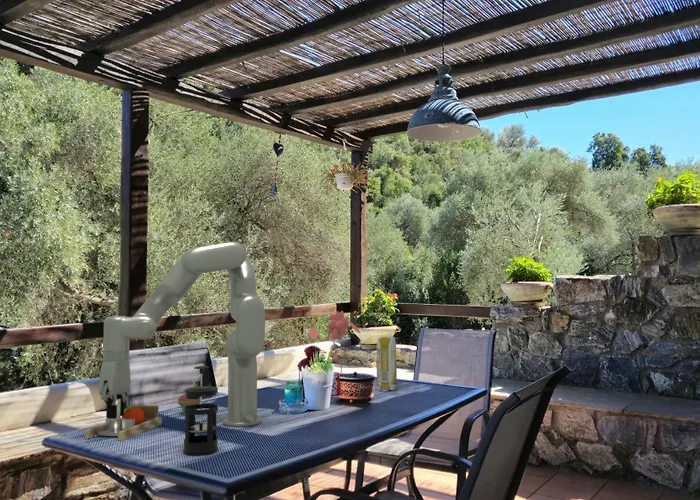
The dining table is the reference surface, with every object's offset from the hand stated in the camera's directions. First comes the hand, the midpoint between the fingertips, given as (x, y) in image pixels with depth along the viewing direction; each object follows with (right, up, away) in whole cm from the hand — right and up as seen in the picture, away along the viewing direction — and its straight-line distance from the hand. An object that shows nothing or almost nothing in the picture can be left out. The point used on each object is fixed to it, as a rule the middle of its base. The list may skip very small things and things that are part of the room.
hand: (115, 416), depth 182 cm
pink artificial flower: (+67, -10, +70) cm, 97 cm away
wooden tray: (+1, -6, +5) cm, 8 cm away
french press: (+31, -4, -19) cm, 36 cm away
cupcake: (+14, -8, +32) cm, 36 cm away
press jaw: (0, -5, 0) cm, 5 cm away
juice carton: (+88, -11, +78) cm, 118 cm away
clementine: (+2, -7, +8) cm, 11 cm away
